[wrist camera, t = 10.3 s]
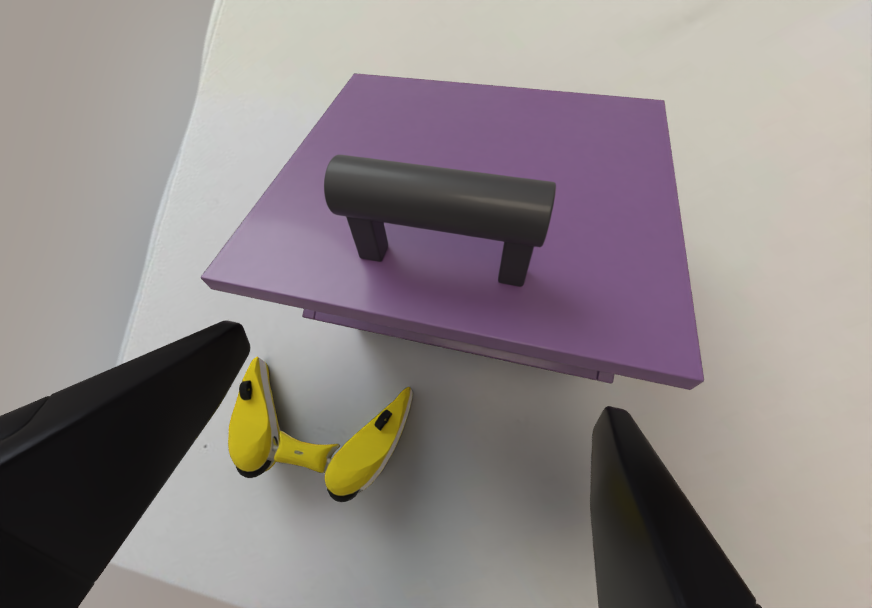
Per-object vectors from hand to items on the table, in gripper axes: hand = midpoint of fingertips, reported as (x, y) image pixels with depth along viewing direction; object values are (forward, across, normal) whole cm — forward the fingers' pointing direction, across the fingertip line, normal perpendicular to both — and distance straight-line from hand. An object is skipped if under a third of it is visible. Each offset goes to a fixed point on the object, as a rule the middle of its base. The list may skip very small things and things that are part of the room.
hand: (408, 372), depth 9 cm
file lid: (+7, 0, -2) cm, 7 cm away
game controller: (+6, +7, +13) cm, 16 cm away
